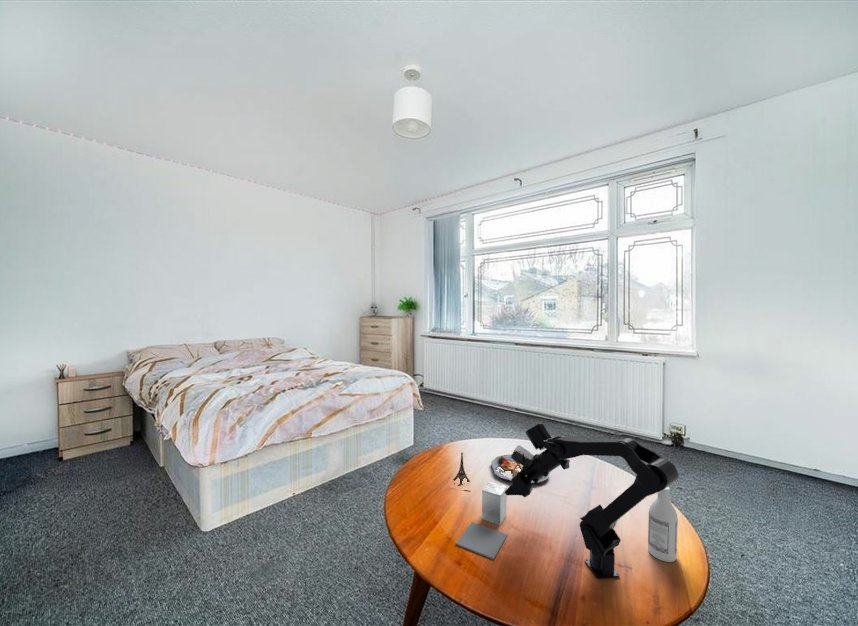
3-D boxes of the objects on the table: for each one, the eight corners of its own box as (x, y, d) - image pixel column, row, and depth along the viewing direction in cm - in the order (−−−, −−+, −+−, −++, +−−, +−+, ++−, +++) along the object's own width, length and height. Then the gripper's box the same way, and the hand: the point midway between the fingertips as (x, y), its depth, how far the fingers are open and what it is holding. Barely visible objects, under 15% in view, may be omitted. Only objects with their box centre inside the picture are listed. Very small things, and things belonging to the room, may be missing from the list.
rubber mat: (507, 535, 108) (507, 534, 108) (493, 560, 98) (493, 558, 98) (471, 523, 114) (471, 521, 114) (455, 544, 104) (455, 543, 104)
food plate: (488, 457, 164) (488, 450, 163) (538, 459, 163) (538, 452, 162) (496, 487, 139) (496, 478, 138) (555, 489, 138) (555, 480, 138)
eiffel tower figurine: (450, 472, 150) (450, 441, 150) (474, 474, 149) (474, 443, 148) (445, 490, 136) (446, 456, 135) (471, 493, 134) (472, 458, 133)
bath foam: (663, 545, 105) (665, 480, 104) (682, 562, 98) (684, 492, 97) (642, 546, 104) (644, 481, 104) (659, 564, 97) (661, 493, 97)
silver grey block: (506, 515, 119) (506, 486, 119) (500, 525, 113) (500, 495, 113) (488, 509, 122) (489, 481, 122) (481, 519, 117) (482, 489, 116)
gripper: (534, 431, 120) (503, 455, 126) (518, 451, 104) (483, 477, 110) (557, 459, 116) (524, 483, 122) (545, 484, 100) (507, 510, 106)
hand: (510, 487), depth 115 cm, fingers open, 9 cm apart
